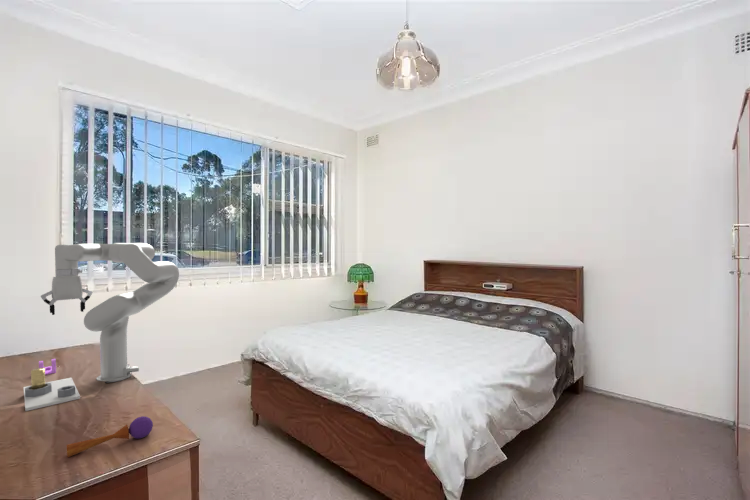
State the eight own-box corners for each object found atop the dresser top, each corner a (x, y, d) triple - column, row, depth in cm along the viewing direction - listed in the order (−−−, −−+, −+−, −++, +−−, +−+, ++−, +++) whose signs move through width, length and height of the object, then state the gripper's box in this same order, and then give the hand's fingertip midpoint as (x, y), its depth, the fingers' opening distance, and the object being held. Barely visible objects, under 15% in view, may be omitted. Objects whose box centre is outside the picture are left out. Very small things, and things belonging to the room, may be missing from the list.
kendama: (67, 437, 104) (150, 411, 116) (69, 459, 104) (152, 431, 116) (65, 442, 100) (152, 415, 111) (67, 465, 99) (154, 435, 111)
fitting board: (71, 379, 161) (71, 371, 161) (80, 398, 141) (79, 389, 141) (23, 389, 150) (23, 380, 150) (25, 411, 130) (25, 401, 130)
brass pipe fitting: (47, 390, 146) (46, 367, 146) (42, 394, 143) (42, 370, 143) (34, 392, 145) (33, 368, 145) (29, 395, 141) (28, 371, 141)
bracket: (56, 375, 167) (55, 359, 167) (39, 378, 164) (38, 362, 164) (56, 368, 177) (55, 353, 177) (40, 370, 174) (40, 355, 174)
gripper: (90, 271, 171) (91, 309, 171) (39, 274, 159) (40, 314, 159) (93, 272, 165) (94, 311, 166) (40, 275, 153) (41, 316, 154)
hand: (67, 312), depth 162 cm, fingers open, 9 cm apart
